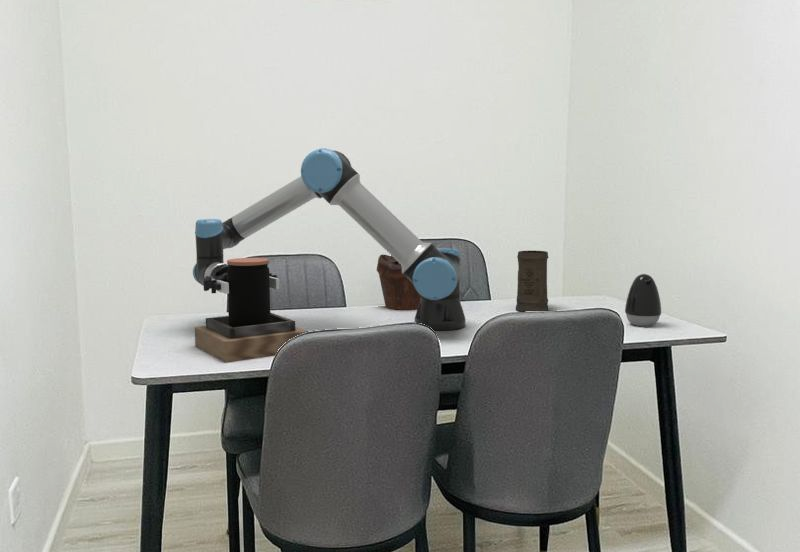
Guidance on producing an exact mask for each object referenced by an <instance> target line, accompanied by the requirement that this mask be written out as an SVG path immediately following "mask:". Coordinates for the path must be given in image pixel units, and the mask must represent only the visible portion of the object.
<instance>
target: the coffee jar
mask: <svg viewBox="0 0 800 552" xmlns="http://www.w3.org/2000/svg"><path fill="white" fill-rule="evenodd" d="M226 264H227V265H229V268H228V270H227V282H228V283H229V294H227V305H228V306H227V309H228V310H227V311H228V312H227V313H228V316H229V326H230V327H233V328H234V327H242V326H251V325H259V324H268V323H271V320H270V313H271V288H270V278H269V273H270V268H269V267H268V265H269V264H270V259H269V258H263V257H241V258H240V257H239V258H238V257H237V258H230V259H227V260H226Z"/></svg>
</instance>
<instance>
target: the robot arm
mask: <svg viewBox="0 0 800 552" xmlns="http://www.w3.org/2000/svg"><path fill="white" fill-rule="evenodd" d="M315 198H316V199H319V200H320V199H324V200H325V202H326V203H328V204H329V205H330V206H339V207H340V208H341V209H342V210H343V211H344V212H345V213H346V214H348V216H350V217H351V218H352V219H353V221H355V222H356V223H357V224H358V225H359V226H360V228H362V229H363V230H364V231H365V232H366V233H367V234H368V235H370V236H371V238H372V239H374V240H375V241H376V242H377V244H379V245H380V247H382V248H383V249H384V250H385V251H386V252H387V253H388V254H389V256H392V257H394V258H395V259H396V260H397V261H398V262H399V263H400V264H401V266H402V273H403V274H404V275H405V276H406V277H407V278H408V279H409V280H410V281H411V282H412V283H413V285H414V287H415V289H416V290H417V292H418V293H419V294H420V303H419V306H418V309H416V312H415V315H414V323H415V322H416V323H422V324H425V325H427V326H429V327H431V328H432V329H433V330H432V331H454V330H459V329H462V328H465V327H466V326H467V325H466V324H467V323H466V320H467V319H466V316H465V313H464V309H463V306H462V304H461V300H460V298H461V297H460V294H461V291H460V289H461V284H460V283H461V273H460V272H461V271H460V269H461V267H460V266H461V258H462V257H461V255H460V254H461V253H460V250H459V249H457V248H447V247H443V248H442V247H441V248H440V247H436V246H435V245H434V244H433V243H432V242H424V241H422V240H421V239H419V237H418V236H417V235H416V234H415V233H413V232H412V230H410V229H409V227H407V226H406V225H405V224H404V223H403V222H402V221H401V220H400V218H399V219H398V217H397V216H396V215H394V213H392V211H390V210H389V209H388V208H387V206H385V205H384V204H383V203H382V202H381V200H379V199H378V198H377V197H376V196H375V195H373V193H372V192H370V191H369V189H367V187H365V185H363V184H362V183H361V177H360V174H359V172H358V171H356V169H354V167H352V164H351V161H350V159H349V158H348V157H347V156H346V155H345V154H344V153H342V152H340V151H337V150H333V149H329V148H318V149H317V148H316V149H315V150H312V151H310V152H309V153H308V154H307V155H306V156H305V158H304V159H303V160H302V163H301V166H300V176H299V177H297V178H295V179H294V180H292V181H290V182H289V183H287V184H286V185H284V186H282V187H280V188H278V189H276V190H275V191H274V192H271V193H270V194H269V195H266V196H265V197H263V198H262V199H260V200H258V201H257V202H255V203H254V204H252V205H250V206H248V207H247V208H245V209H243V210H242V211H240V212H239V213H236V214H235V215H233V216H232V217H230V218H228V219H227V220H225V221H222V220H221V219H220V218H205V219H198V220H196V221H195V227H194V228H195V229H194V230H195V231H194V235H195V248H196V252H195V253H196V263H195V264H194V266H193V267H192V276H193V278H194V280H195V281H196V282H197V283H198V284H199V285H201V286H203V292H208V291H209V290H211V291H210V292H211V294H217V292H218V293H223V294H225V295H228V294H229V283H228V282H227V270H228V268H229V265H228V264H227V263H224V250H226V249H231V248H234V247H236V246H237V245H238V244H240V243H241V242H242V241H244V240H245V239H247V238H249V237H251V236H252V235H253V234H256V233H258V231H261V230H262V229H264V228H266V227H267V226H269V225H271V224H272V223H274V222H276V221H277V220H280V219H281V218H283V217H284V216H286V215H288V214H290V213H291V212H293V211H295V210H296V209H298V208H300V207H302V206H303V205H305V204H307V203H308V202H311V200H314V199H315ZM269 278H270V289H274V290H279V289H280V278H278V275H276V274H273V273H272V272H269Z"/></svg>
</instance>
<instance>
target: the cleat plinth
mask: <svg viewBox="0 0 800 552" xmlns="http://www.w3.org/2000/svg"><path fill="white" fill-rule="evenodd" d="M270 320H271V323H268V324H259V325H251V326H242V327H234V328H233V327H230V326H229V315H225V316H224V315H223V316H214V317H207V318H205V325H203V326H195V327H194V346H195V347H196V348H199V349H200V350H202V351H203V352H206V353H208V354H210V355H211V356H213V357H215V358H217V359H218V360H221V361H223V362H224V363H230V362H231V363H233V362H238V361H245V360H251V359H258V358H264V357H271V356H273V357H274V356H276V355H275V354H276V353H277V351H278V349H279V348H280V347H281V346H282V345H283V344H284V343H285V342H287V341H288V340H289V339H291V338H293V337H295V336H297V335H300V334H302V333H305V332H308V333H309V331H308V330H305V329H302V328H300V327H297V326H296V320H293V319H290V318H287V317H285V316H282V315H279V314H275V313H273V312H270Z"/></svg>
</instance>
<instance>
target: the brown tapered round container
mask: <svg viewBox="0 0 800 552" xmlns="http://www.w3.org/2000/svg"><path fill="white" fill-rule="evenodd" d="M376 272H377V273H378V277H379V280H380V287H381V291H382V296H383V301H384V306H385V307H386V308H387V309H390V310H397V311H398V310H399V311H407V310H409V311H410V310H417V309H418V306H419V303H420V294H419V293H418V292H417V290H416V289H415V287H414V285H413V283H412V282H411V281H410V280H409V279H408V278H407V277H406V276H405V275H404V274H403V273H402V266H401V264H400V263H399V262H398V261H397V260H396V259H395V258H394V257H393V256H392V255H387V254H380V255H379V256H378V260H377V265H376Z"/></svg>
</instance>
